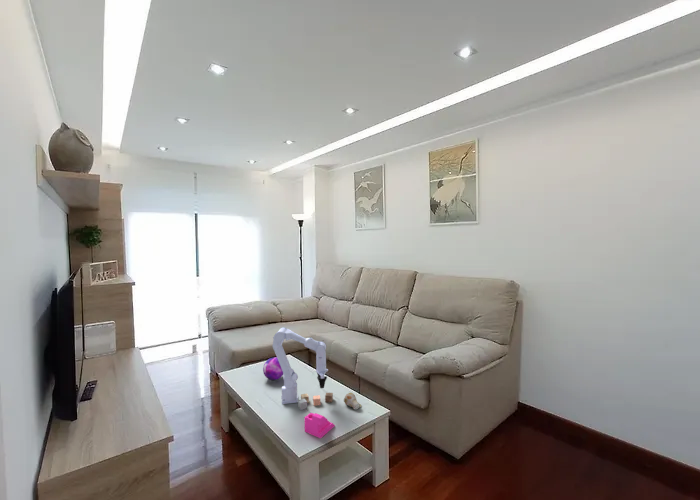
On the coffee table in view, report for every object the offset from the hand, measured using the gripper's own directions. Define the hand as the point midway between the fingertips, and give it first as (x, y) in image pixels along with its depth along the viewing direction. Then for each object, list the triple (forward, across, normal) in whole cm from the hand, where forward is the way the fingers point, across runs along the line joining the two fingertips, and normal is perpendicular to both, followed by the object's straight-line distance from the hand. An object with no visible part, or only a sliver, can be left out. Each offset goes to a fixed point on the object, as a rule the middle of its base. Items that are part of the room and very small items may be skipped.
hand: (321, 385), depth 194 cm
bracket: (+10, -28, +4) cm, 30 cm away
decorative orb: (+10, +36, +30) cm, 48 cm away
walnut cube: (+10, -1, -4) cm, 11 cm away
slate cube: (+10, -5, +12) cm, 16 cm away
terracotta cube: (+10, -3, +3) cm, 11 cm away
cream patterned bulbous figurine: (+10, -10, -18) cm, 23 cm away
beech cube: (+10, +1, +10) cm, 14 cm away
